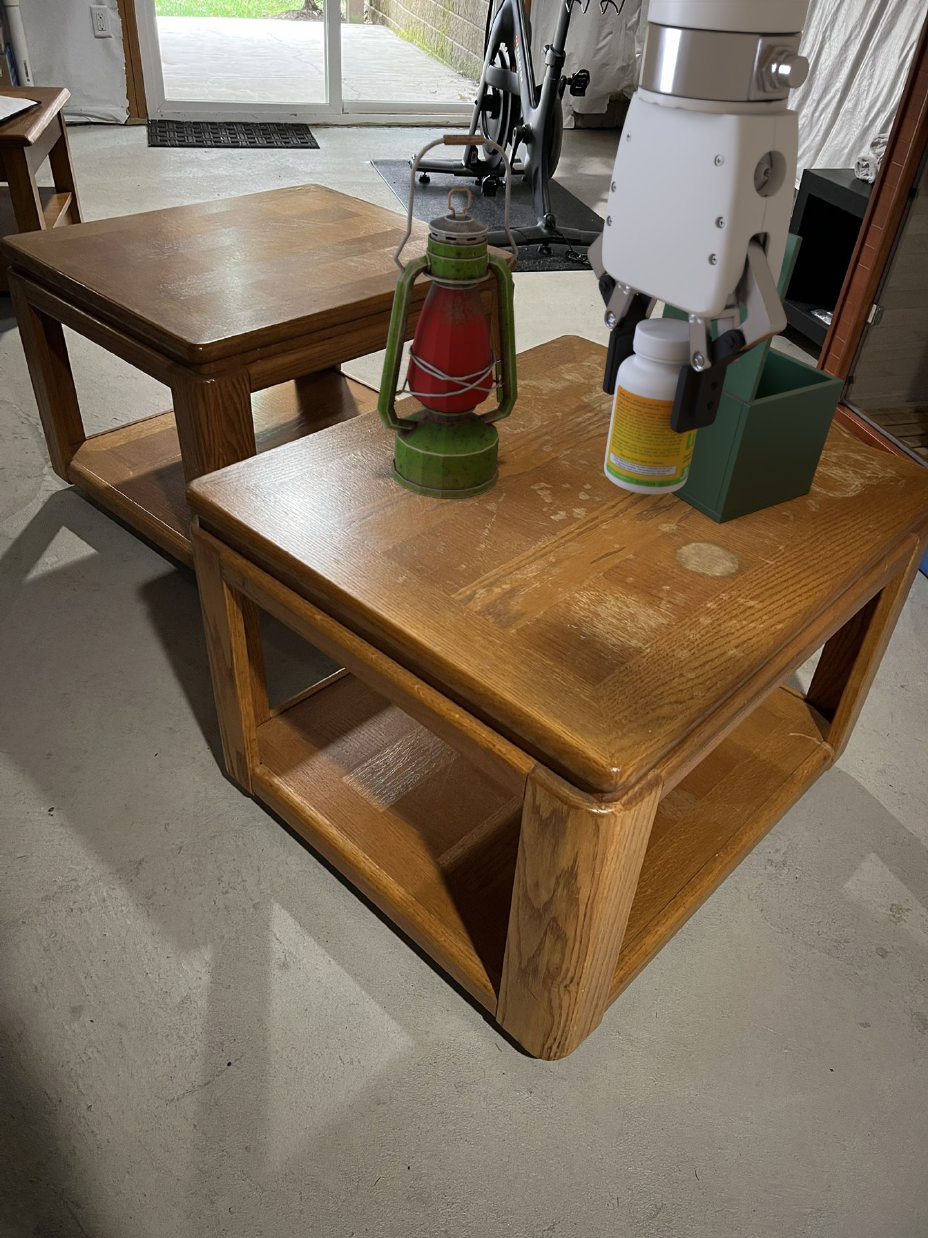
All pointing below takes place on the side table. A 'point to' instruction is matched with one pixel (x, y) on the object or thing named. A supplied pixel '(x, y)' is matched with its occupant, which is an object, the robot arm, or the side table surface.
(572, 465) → the side table surface
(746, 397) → the bin lid
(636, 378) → the supplement bottle
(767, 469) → the bin
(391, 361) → the lantern
